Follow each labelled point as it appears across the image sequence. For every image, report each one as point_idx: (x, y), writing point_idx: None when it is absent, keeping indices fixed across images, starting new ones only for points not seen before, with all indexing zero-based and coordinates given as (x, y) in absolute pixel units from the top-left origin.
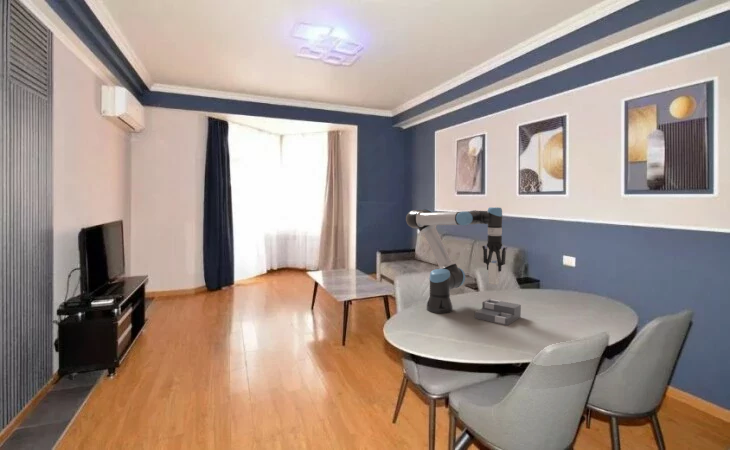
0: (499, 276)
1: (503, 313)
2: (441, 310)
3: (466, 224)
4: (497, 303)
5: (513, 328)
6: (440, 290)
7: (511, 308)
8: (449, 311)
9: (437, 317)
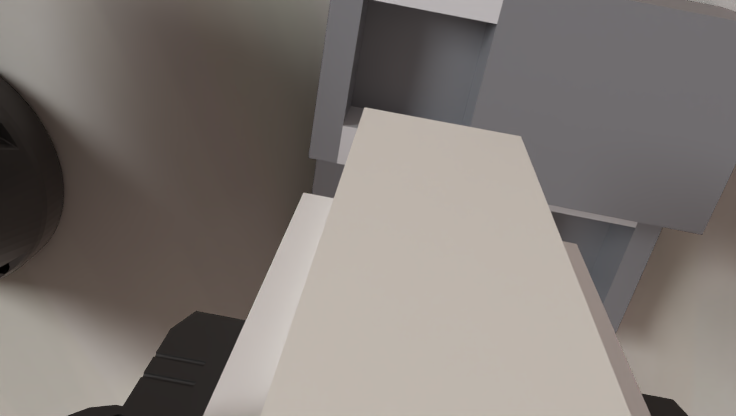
0: (574, 260)
1: (562, 208)
2: (13, 271)
3: None
4: (488, 129)
5: (646, 334)
6: None
7: (664, 224)
8: (58, 209)
9: (65, 351)
